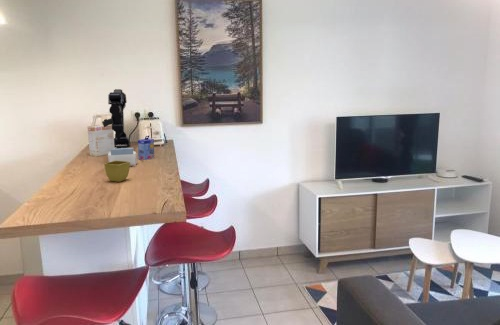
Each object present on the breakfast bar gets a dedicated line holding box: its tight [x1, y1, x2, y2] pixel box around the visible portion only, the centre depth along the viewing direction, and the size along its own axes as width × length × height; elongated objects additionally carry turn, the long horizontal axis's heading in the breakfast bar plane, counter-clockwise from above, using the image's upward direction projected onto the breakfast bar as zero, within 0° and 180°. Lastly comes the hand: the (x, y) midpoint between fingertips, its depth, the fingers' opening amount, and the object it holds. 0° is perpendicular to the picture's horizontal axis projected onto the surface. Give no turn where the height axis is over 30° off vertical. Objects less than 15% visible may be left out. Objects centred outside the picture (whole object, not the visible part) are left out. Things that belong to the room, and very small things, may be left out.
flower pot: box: [103, 161, 131, 183], centre depth 197 cm, size 9×9×9 cm
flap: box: [110, 147, 134, 155], centre depth 229 cm, size 1×12×7 cm
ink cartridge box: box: [137, 135, 155, 161], centre depth 254 cm, size 10×6×14 cm, turn 158°
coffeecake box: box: [86, 124, 116, 158], centre depth 270 cm, size 15×7×20 cm, turn 144°
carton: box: [107, 150, 138, 166], centre depth 239 cm, size 13×15×6 cm
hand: (118, 140), depth 245 cm, fingers closed
